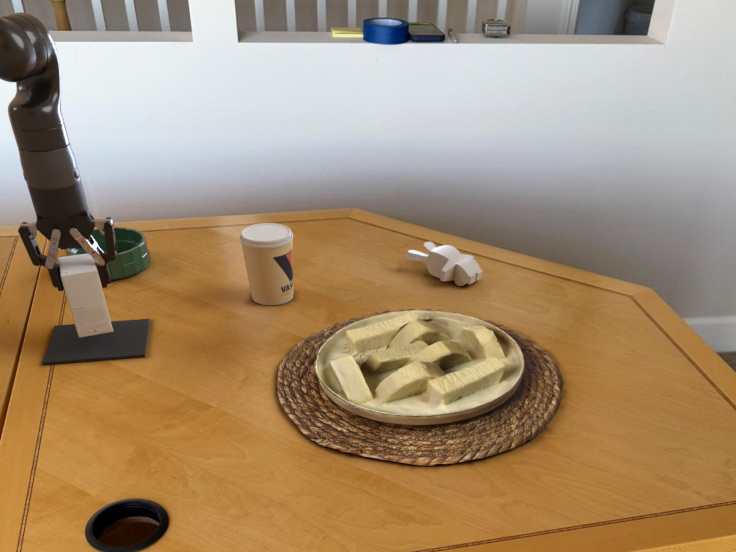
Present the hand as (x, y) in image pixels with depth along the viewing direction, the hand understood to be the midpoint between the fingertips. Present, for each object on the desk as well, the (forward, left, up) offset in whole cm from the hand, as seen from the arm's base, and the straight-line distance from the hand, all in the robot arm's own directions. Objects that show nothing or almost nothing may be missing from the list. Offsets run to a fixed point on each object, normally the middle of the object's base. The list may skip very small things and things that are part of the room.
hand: (83, 287), depth 124 cm
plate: (+51, -21, -10) cm, 56 cm away
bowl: (-1, +32, -10) cm, 33 cm away
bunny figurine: (+64, +17, -10) cm, 67 cm away
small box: (0, 0, -7) cm, 7 cm away
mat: (0, 0, -10) cm, 10 cm away
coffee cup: (+30, +13, -10) cm, 34 cm away
